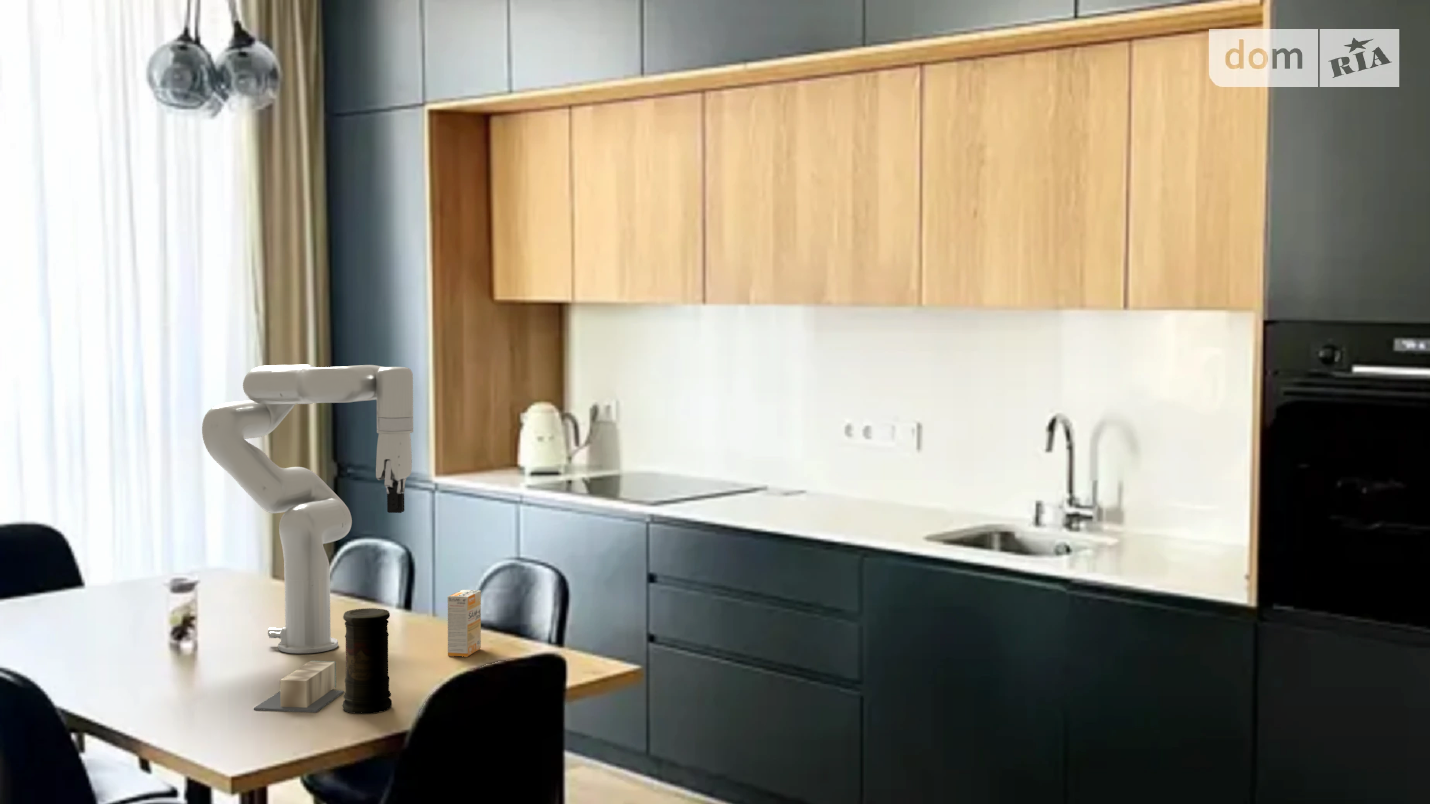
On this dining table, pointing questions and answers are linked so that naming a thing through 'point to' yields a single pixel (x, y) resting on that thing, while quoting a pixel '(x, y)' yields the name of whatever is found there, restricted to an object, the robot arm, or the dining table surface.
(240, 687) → the dining table surface
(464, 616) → the supplement box
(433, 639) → the dining table surface
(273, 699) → the mat
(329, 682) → the beige patterned box
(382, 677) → the container
